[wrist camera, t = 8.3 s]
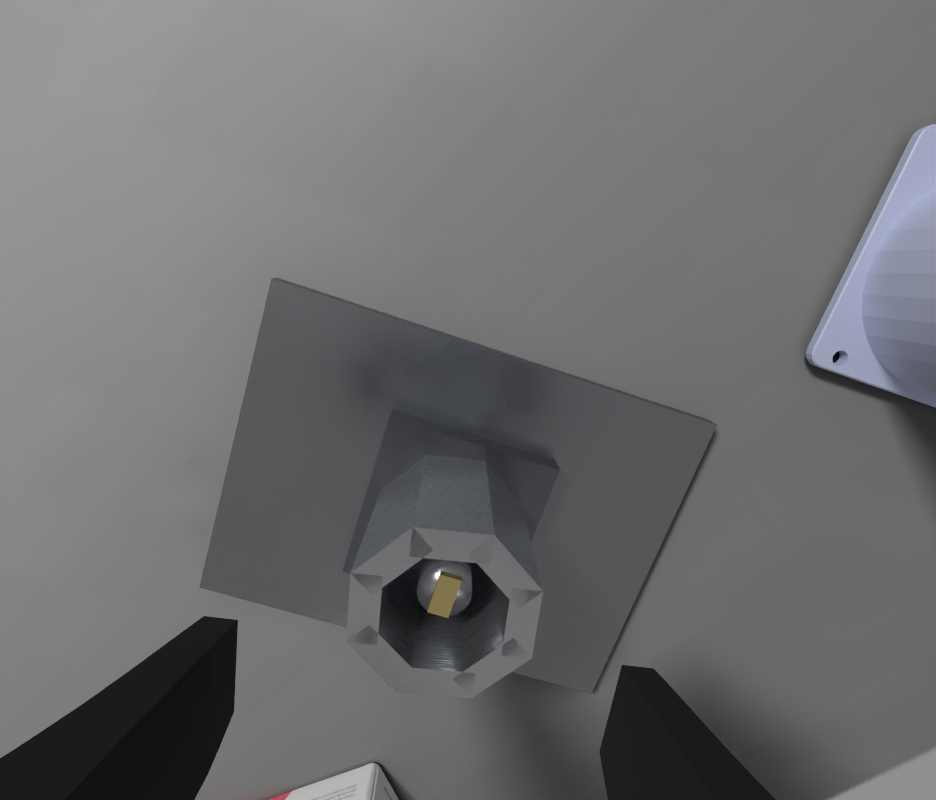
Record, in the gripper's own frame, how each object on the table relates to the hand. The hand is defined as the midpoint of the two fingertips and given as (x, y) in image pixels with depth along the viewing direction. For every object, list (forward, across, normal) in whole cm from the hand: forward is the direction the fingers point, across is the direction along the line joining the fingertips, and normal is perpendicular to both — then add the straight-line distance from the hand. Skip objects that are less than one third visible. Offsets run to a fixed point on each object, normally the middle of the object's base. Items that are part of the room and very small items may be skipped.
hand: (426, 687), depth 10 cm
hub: (+8, 0, +1) cm, 8 cm away
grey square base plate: (+10, 0, +1) cm, 10 cm away
